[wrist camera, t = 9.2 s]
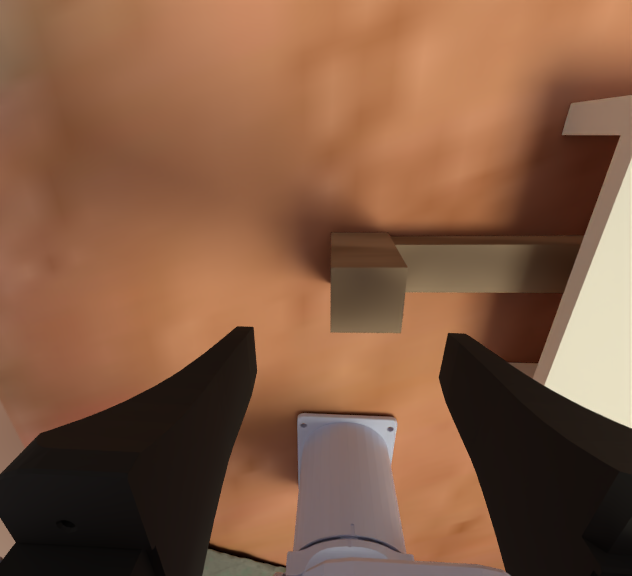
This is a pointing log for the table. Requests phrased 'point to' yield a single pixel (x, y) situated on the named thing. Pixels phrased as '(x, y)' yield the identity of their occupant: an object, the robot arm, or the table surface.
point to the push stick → (436, 271)
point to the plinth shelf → (597, 283)
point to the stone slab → (236, 566)
